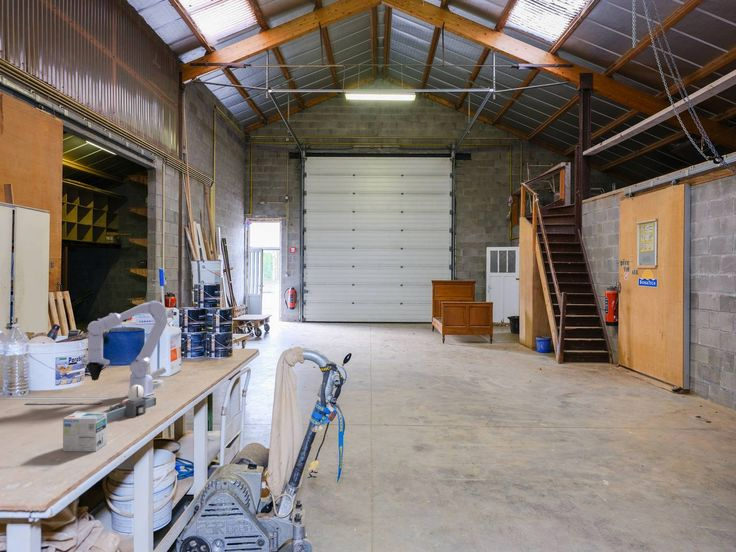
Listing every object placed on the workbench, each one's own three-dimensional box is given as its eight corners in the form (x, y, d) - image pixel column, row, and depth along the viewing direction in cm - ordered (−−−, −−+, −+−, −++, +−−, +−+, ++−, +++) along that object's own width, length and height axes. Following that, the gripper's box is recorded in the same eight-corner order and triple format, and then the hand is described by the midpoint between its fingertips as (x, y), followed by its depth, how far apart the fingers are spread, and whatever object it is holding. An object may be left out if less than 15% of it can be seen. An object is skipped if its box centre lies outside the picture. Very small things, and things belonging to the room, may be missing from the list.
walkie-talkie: (127, 403, 199) (96, 418, 179) (127, 393, 199) (96, 407, 179) (147, 404, 198) (117, 419, 178) (147, 394, 198) (117, 408, 178)
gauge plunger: (127, 409, 186) (127, 404, 186) (142, 412, 183) (143, 407, 183) (123, 411, 184) (123, 406, 184) (138, 413, 181) (138, 408, 181)
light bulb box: (107, 444, 152) (107, 411, 152) (96, 452, 146) (96, 418, 145) (74, 443, 152) (75, 411, 152) (61, 452, 145) (62, 418, 145)
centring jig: (131, 401, 201) (132, 374, 201) (165, 406, 195) (165, 378, 195) (73, 419, 176) (74, 388, 176) (110, 425, 170) (110, 393, 170)
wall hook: (168, 367, 226) (146, 370, 220) (168, 387, 226) (146, 390, 220) (164, 364, 233) (142, 367, 227) (163, 383, 233) (142, 386, 227)
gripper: (74, 349, 198) (74, 380, 198) (99, 351, 193) (99, 383, 194) (89, 346, 205) (89, 376, 205) (114, 349, 200) (113, 380, 200)
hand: (95, 379), depth 200 cm, fingers closed
